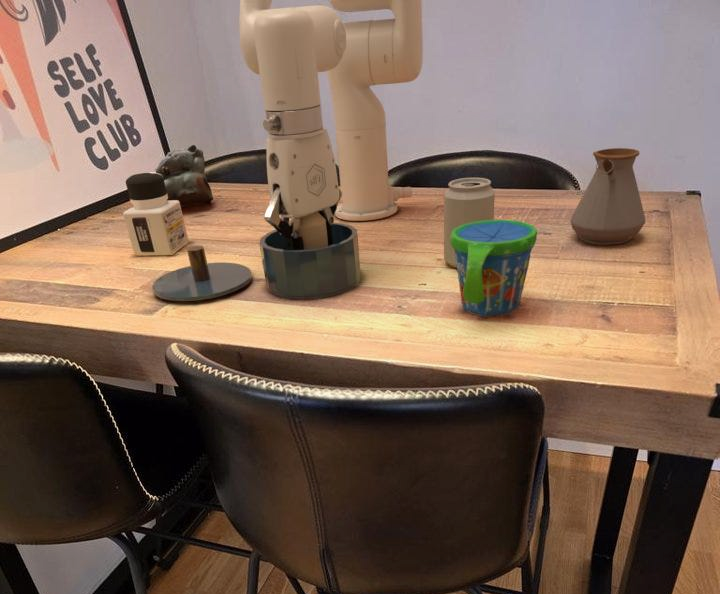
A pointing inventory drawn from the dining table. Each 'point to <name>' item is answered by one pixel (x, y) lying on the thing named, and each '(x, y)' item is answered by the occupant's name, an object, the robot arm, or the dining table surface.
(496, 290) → the snack cup
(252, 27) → the robot arm
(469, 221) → the can
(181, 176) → the grey lumpy figure
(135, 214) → the container
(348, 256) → the bowl
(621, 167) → the coffee pot
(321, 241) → the candle
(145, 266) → the dining table surface
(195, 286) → the lid
